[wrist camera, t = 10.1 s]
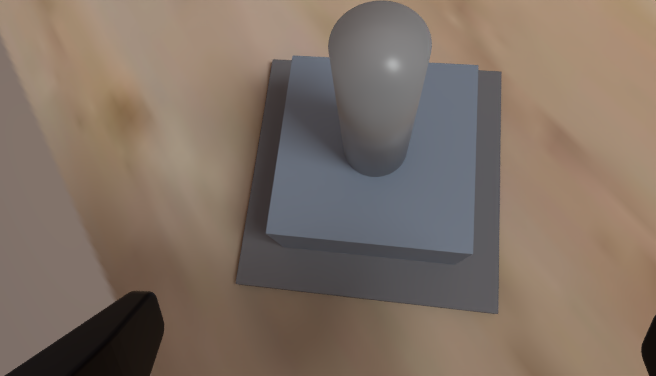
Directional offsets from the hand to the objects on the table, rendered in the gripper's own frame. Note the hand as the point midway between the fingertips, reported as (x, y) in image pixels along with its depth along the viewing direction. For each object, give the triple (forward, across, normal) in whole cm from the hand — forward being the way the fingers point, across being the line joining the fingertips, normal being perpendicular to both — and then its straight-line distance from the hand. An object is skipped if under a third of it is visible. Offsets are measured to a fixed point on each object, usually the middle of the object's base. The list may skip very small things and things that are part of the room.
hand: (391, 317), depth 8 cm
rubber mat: (+14, 0, +4) cm, 14 cm away
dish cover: (+13, 0, +4) cm, 14 cm away
